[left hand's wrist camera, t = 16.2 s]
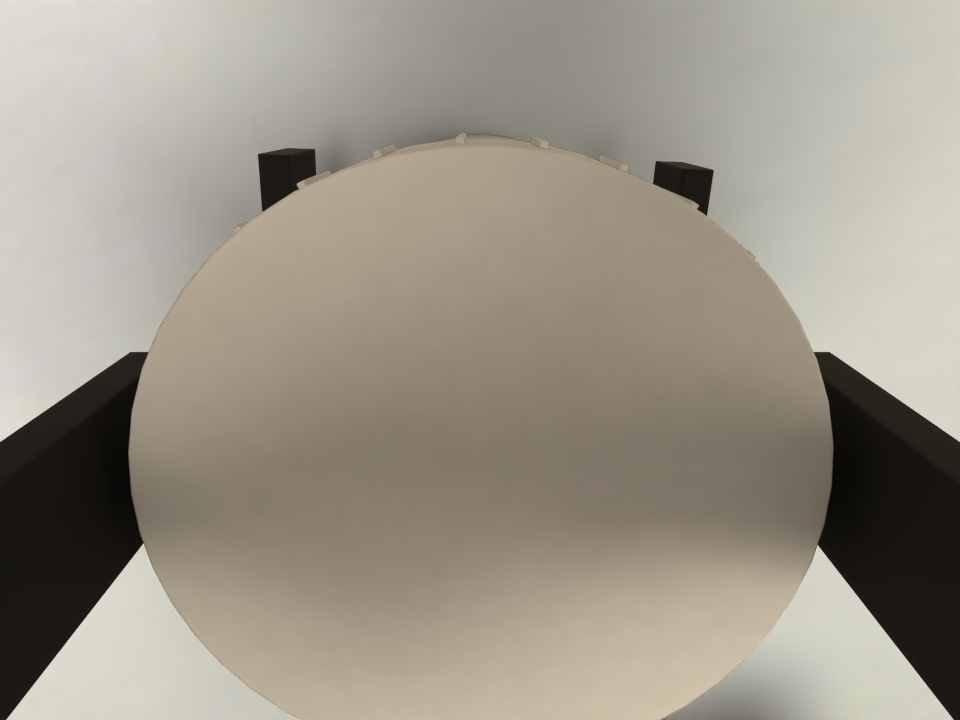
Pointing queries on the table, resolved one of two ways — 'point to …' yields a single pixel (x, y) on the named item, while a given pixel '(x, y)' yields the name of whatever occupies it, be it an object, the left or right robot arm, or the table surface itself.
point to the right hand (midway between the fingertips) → (486, 158)
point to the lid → (481, 443)
